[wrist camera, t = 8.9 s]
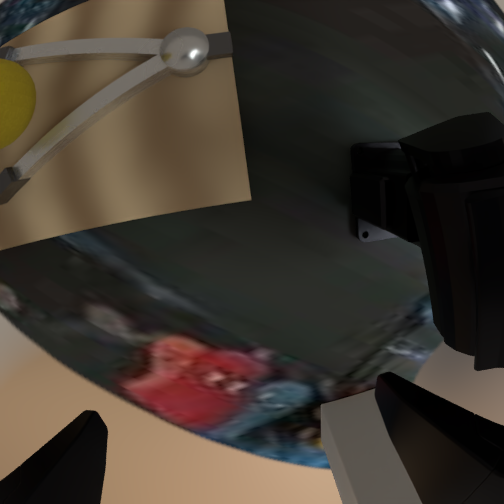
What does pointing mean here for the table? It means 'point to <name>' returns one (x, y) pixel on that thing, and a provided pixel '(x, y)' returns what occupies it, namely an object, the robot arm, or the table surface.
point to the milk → (363, 453)
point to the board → (127, 128)
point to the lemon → (15, 101)
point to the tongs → (115, 94)
